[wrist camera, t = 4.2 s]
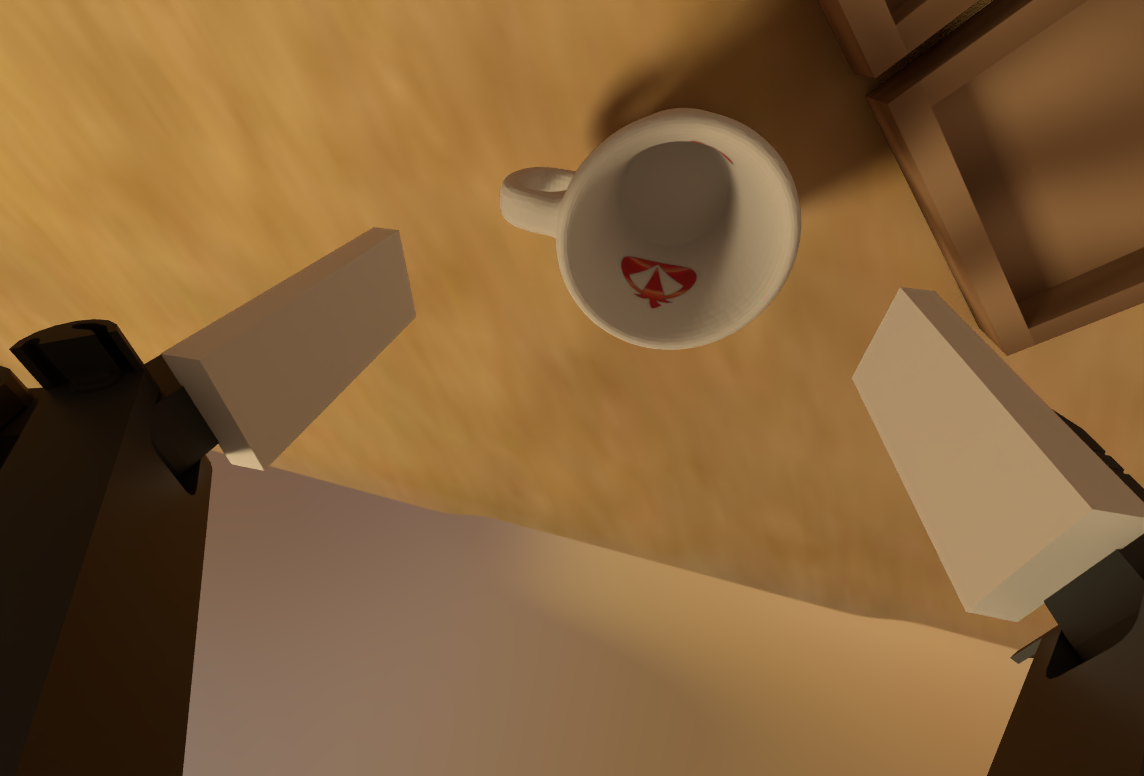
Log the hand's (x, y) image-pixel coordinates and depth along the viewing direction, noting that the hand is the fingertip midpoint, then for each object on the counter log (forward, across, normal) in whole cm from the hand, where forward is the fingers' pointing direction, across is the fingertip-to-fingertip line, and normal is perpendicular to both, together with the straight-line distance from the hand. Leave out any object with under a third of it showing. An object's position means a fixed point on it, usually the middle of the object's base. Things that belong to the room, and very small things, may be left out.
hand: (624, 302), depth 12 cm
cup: (+12, 0, 0) cm, 12 cm away
